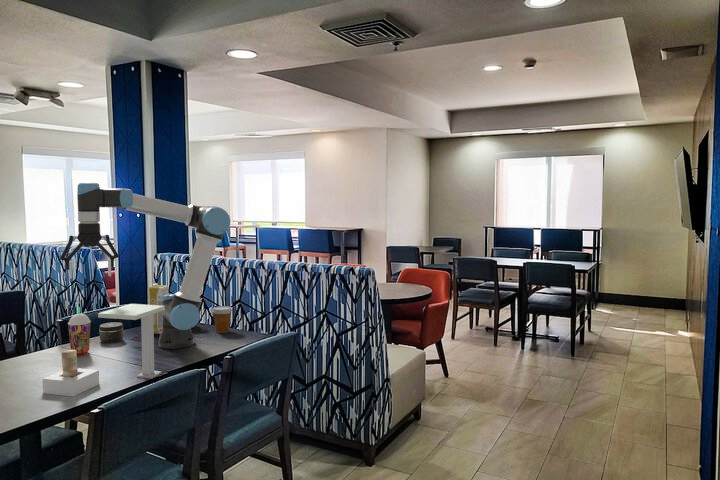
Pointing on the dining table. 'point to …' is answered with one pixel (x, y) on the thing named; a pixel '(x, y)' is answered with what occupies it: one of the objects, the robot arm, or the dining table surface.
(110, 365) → the dining table surface
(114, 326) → the jar
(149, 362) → the white pedestal side table
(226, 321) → the disposable coffee cup
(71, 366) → the peg
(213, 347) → the dining table surface
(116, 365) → the dining table surface
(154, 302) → the juice carton
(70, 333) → the smoothie
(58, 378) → the socket
